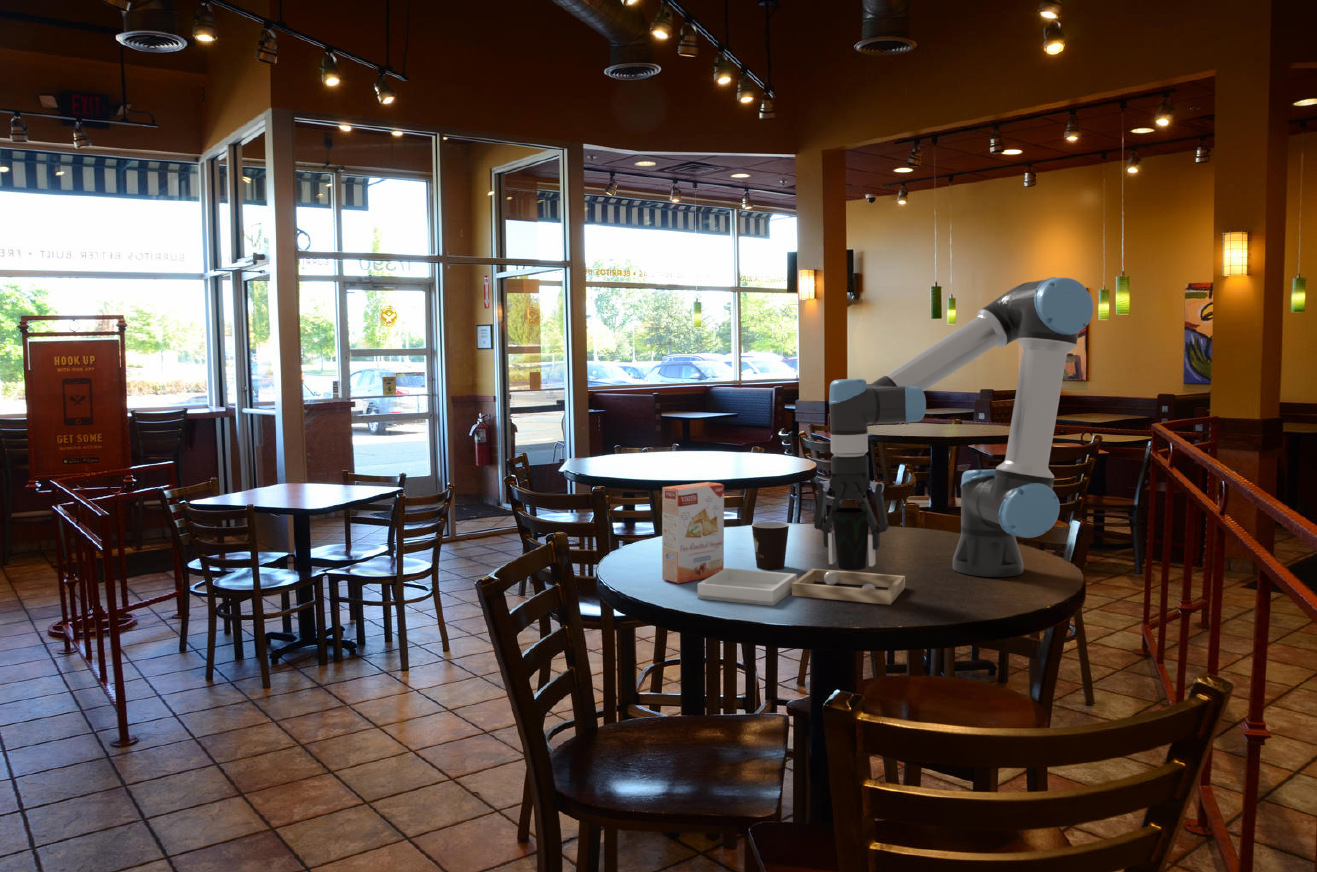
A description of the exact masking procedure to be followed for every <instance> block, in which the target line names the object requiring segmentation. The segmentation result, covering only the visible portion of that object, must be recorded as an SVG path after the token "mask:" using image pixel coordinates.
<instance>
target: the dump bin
mask: <svg viewBox="0 0 1317 872" xmlns="http://www.w3.org/2000/svg"><path fill="white" fill-rule="evenodd" d="M797 577H798V575H797V573H789V572H778V571H777V572H776V571H767V570H755V569H753V570H752V569H740V568H730V567H725V568H724V569H723V570H722V571H720V572H718V573H716V574H714V575H713V576H711V577H709V578H705V579H703V580H702V581H701V582H698V583H697V599H698V600H708V601H710V600H711V601H717V602H718V601H720V602H729V603H730V602H731V603H739V604H748V605H758V606H759V605H760V606H768V607H769V606H771V607H774V606H775V605H777V604H778V603H779V602H780V601H782V600H783V599H784V598H786V596H788V595H790V594H792V583H793V582H795V581H796V580H797V579H798V578H797Z"/></svg>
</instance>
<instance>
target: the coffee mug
mask: <svg viewBox="0 0 1317 872" xmlns="http://www.w3.org/2000/svg"><path fill="white" fill-rule="evenodd" d="M789 527H790V525H789V523H786V522H783V521H782V522H781V521H780V522H779V521H758V522H754V523H753V522H752V524H751V531H752V539H753V545H754V546H753V547H754V554H755V563H756V564H755V565H756V568H757V569H759V570H762V571H777V570H784V568H785V564H786V553H787V545H788V538H789V537H788V536H789Z"/></svg>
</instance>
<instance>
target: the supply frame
mask: <svg viewBox="0 0 1317 872" xmlns="http://www.w3.org/2000/svg"><path fill="white" fill-rule="evenodd" d="M828 571H833V572H835V573H836V574H837V575H838V581H837V583H836V584H843V585H844V584H845V585H854V586H855V585H856V586H864V585H865V584H872V585H873V586H874V587H877V588H887V589H886V590H883V589H876V590H874V589H863V588H862V587H861V588H860V587H851V586H849V587H848V586H838V585H828V584H817V583H816V584H815V582H821V583H826V582H825V581H824V575H825V574H826V573H827V572H828ZM904 589H906V576H905V575H897V574H895V575H894V574H885V573H884V574H881V573H873V572H872V573H871V572H861V571H860V572H859V571H849V570H834V569H833V570H832V569H823V568H811V569H810V570H808V571H807V572H806V573H804V574H803V575H802V576H800V577H799V578H797V580H796V581H795V582H793V583H792V592H791V596H795V597H804V598H805V597H806V598H813V599H814V598H815V599H827V600H838V601H848V602H857V603H858V602H860V603H869V604H877V605H878V604H881V605H889V606H890V605H892V603H893V602H894V601H895V600H896V599H897V598H898V596H900V594H901V593H902V592H903V591H904Z"/></svg>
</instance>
